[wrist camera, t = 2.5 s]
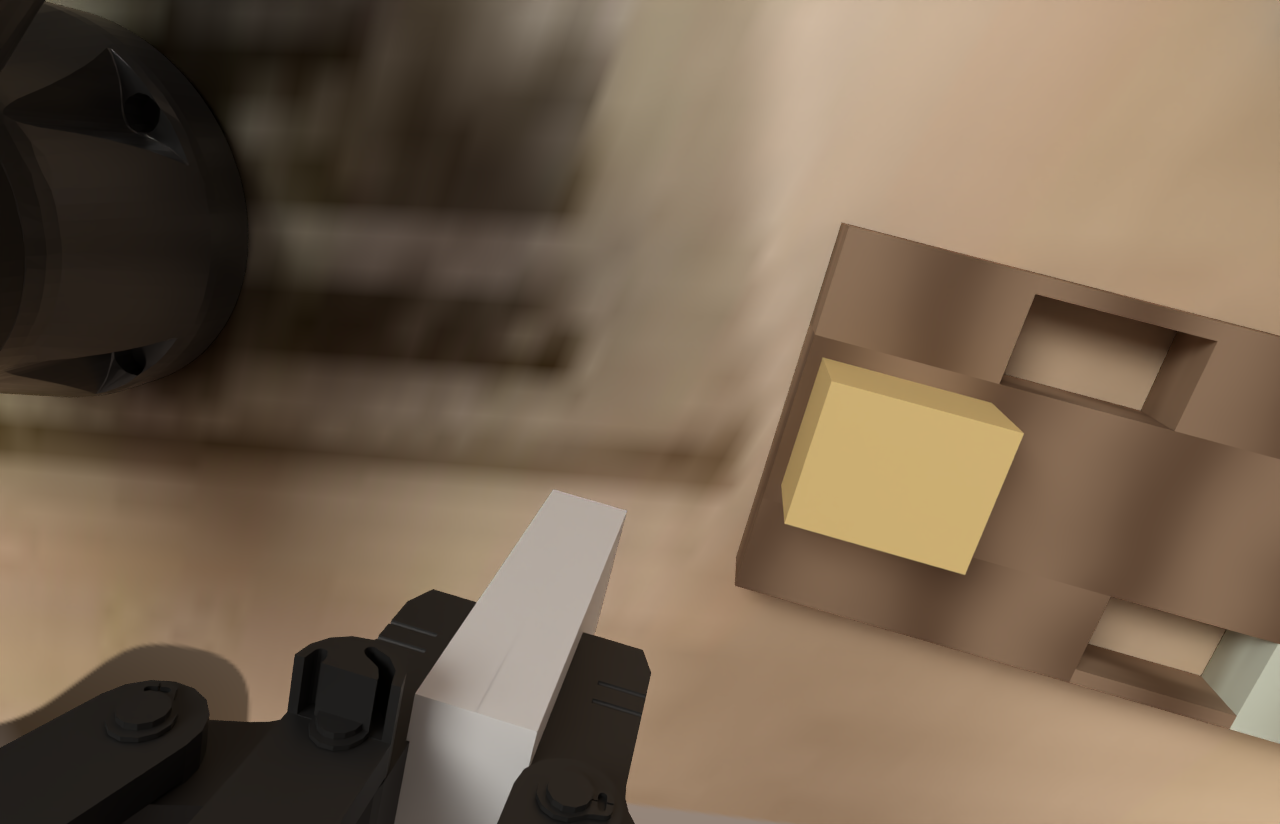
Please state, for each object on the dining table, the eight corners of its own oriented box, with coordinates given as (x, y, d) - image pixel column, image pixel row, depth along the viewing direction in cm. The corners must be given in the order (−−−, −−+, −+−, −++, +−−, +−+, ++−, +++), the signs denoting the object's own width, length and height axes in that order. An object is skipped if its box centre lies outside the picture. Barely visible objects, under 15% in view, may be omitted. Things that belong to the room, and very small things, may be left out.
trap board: (736, 556, 33) (732, 634, 28) (841, 222, 29) (862, 232, 23) (1346, 732, 32) (1475, 853, 26) (1551, 406, 28) (1759, 465, 22)
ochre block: (781, 485, 30) (784, 523, 26) (822, 357, 28) (831, 380, 25) (941, 529, 29) (965, 574, 26) (991, 403, 28) (1024, 433, 24)
